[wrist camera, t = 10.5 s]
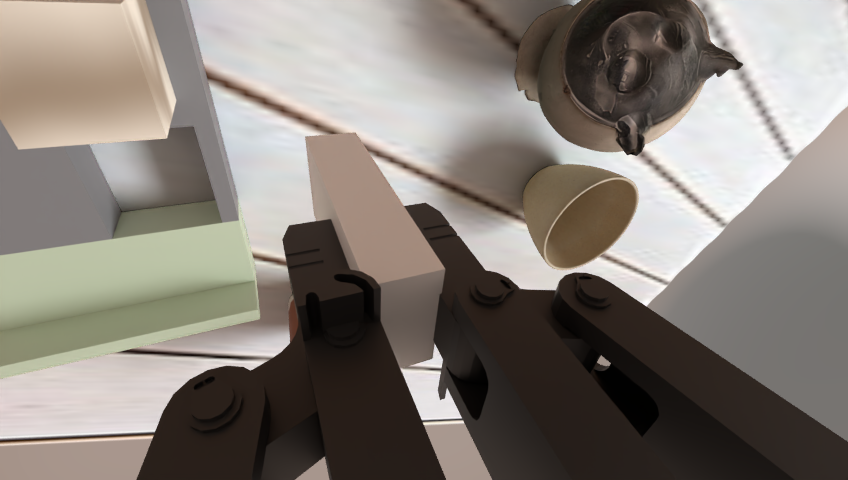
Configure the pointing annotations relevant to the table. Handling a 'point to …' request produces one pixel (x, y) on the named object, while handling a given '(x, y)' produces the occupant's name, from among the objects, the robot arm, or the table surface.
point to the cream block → (81, 73)
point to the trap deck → (119, 239)
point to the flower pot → (577, 212)
